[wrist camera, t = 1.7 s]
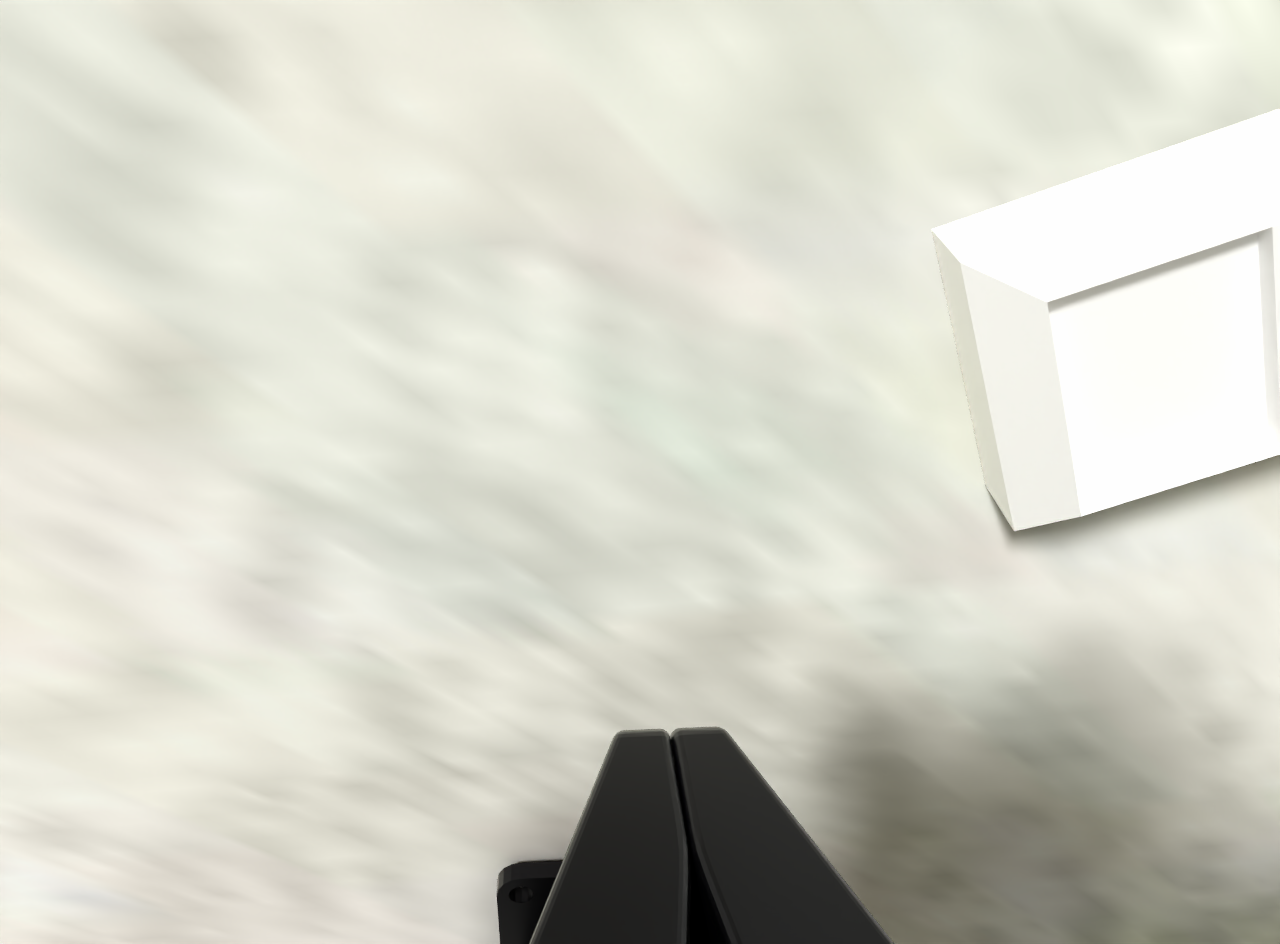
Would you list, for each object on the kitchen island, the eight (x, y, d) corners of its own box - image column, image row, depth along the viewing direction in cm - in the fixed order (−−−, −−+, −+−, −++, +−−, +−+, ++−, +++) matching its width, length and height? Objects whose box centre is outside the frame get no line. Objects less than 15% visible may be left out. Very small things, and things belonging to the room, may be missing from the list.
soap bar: (1500, 306, 19) (1629, 376, 17) (978, 473, 20) (1033, 561, 18) (1521, 12, 16) (1677, 47, 14) (923, 220, 17) (980, 285, 15)
